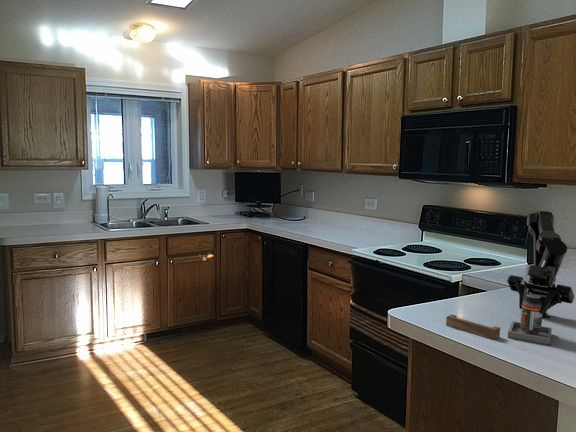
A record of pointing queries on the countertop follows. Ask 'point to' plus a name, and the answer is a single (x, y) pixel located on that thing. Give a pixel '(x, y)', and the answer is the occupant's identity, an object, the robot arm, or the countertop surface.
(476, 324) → the wooden dock
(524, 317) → the supplement bottle
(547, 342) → the grey square tray
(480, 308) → the countertop surface
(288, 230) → the countertop surface
